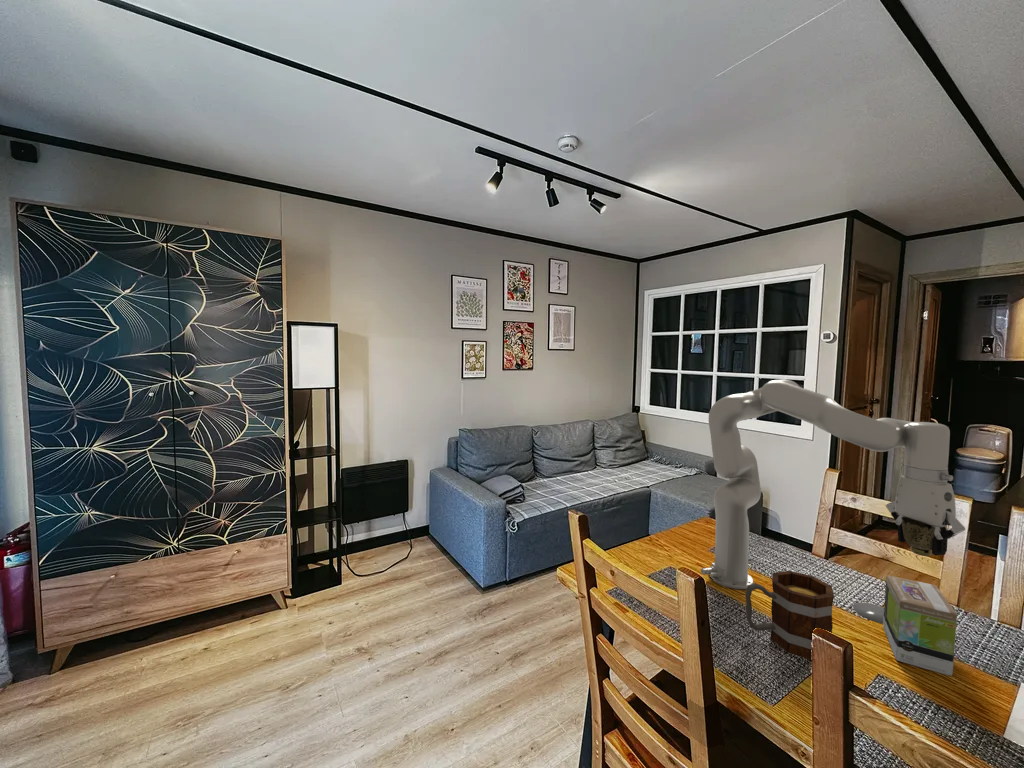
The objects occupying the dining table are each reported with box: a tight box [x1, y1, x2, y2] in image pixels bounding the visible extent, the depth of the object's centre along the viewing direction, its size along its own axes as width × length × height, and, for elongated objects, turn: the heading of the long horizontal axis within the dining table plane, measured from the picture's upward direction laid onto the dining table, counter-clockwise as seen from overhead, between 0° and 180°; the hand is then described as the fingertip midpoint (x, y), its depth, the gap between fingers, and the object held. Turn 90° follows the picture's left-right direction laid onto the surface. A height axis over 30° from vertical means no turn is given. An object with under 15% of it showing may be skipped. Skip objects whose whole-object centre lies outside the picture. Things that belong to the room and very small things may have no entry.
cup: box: [902, 517, 943, 557], centre depth 102 cm, size 8×7×8 cm
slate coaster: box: [852, 602, 884, 624], centre depth 118 cm, size 10×10×1 cm
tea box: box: [882, 574, 958, 677], centre depth 103 cm, size 15×10×15 cm, turn 148°
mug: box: [744, 570, 835, 661], centre depth 106 cm, size 20×14×15 cm
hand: (920, 547), depth 102 cm, fingers closed on cup, 6 cm apart
